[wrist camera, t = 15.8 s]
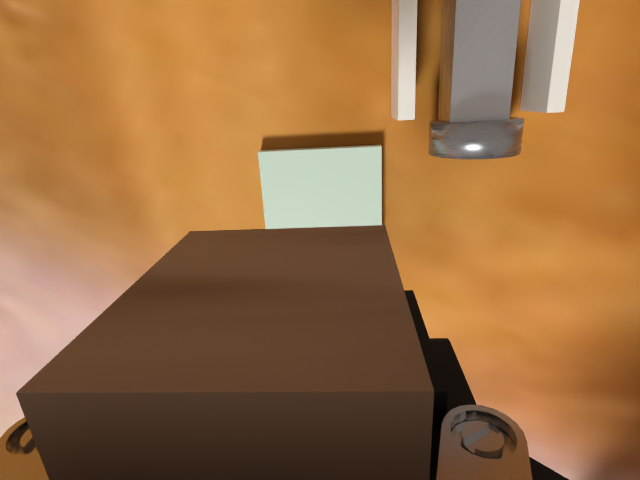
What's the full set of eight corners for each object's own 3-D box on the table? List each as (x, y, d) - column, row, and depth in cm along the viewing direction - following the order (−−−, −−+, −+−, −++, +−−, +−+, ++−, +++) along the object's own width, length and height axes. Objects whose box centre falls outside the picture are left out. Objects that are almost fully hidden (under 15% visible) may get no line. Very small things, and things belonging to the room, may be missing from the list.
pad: (380, 257, 26) (382, 262, 25) (271, 260, 26) (269, 265, 26) (380, 144, 24) (381, 146, 23) (260, 150, 24) (257, 152, 23)
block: (384, 387, 12) (420, 652, 6) (217, 388, 12) (110, 640, 7) (384, 225, 10) (434, 390, 5) (190, 231, 11) (16, 392, 5)
